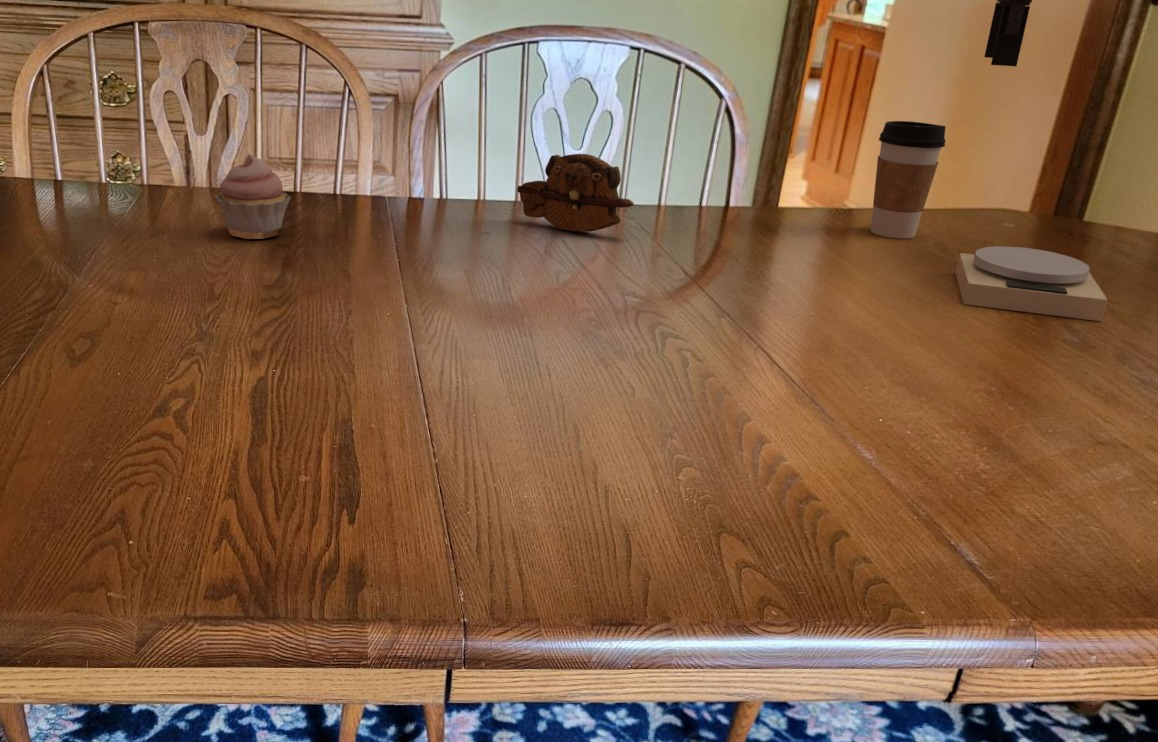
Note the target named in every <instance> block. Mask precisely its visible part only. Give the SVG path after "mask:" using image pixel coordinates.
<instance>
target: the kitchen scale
mask: <svg viewBox="0 0 1158 742" xmlns="http://www.w3.org/2000/svg"><path fill="white" fill-rule="evenodd" d="M1090 269H1091V268H1090V266H1089V265H1088V264H1087V263H1086V262H1084V261H1082V260H1080V259H1077V258H1075V257H1073V256H1068V255H1066V254H1063V253H1062V254H1061V253H1057V252H1055V251H1048V250H1043V249H1037V248H1031V247H1022V246H1020V247H1019V246H1005V245H1003V246H1002V245H1001V246H1000V245H999V246H987V247H986V246H985V247H981V248H978V249H977V250H975V252H974V254H971V253H963V252H960V253H959V255H958V258H957V263H956V267H955V270H954V271H955V272H954V273H955V277H956V282H957V285H958V289H959V292H960V296H961V300H962V304H963V305H965V306H972V307H980V308H981V307H982V308H990V309H996V310H997V309H998V310H1004V311H1005V310H1006V311H1013V312H1014V311H1015V312H1020V313H1021V312H1023V313H1028V314H1029V313H1030V314H1037V315H1046V316H1054V317H1062V318H1070V319H1079V320H1085V321H1094V322H1102V320H1103V318H1104V314H1105V311H1106V308H1107V304H1108V301H1109V299H1108V298H1107V296H1106V294H1105V293H1104V292H1103V290H1102V289H1101V287H1100V286H1099V284H1098V283H1097V282H1096V280H1095V279H1094V277H1093V276H1092V274H1091V272H1090Z"/></svg>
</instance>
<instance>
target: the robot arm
mask: <svg viewBox="0 0 1158 742" xmlns="http://www.w3.org/2000/svg"><path fill="white" fill-rule="evenodd" d="M1032 2H1033V0H996V2H995V4H994V5H995V6H994V10H993V15H992V19H991V23H990V29H989V33H988V38H987V42H986V46H985V47H986V48H985V51H984V58H987V59H988V58H989V59H990V58H991V62H990V65H991V66H1002V67H1018V62H1019V57H1020V53H1021V49H1022V44H1023V39H1024V36H1025V30H1026V26H1027V22H1028V18H1029V13H1030V8H1031V6H1030V5H1031V3H1032Z"/></svg>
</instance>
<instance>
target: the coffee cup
mask: <svg viewBox="0 0 1158 742" xmlns="http://www.w3.org/2000/svg"><path fill="white" fill-rule="evenodd" d="M946 128H947V127H946V125H940V124H933V123H928V122H927V123H926V122H919V121H906V120H891V121H886V122H885V123H884V126H883V128H882V132H880V134H879V138H878V141H879V142H880V148H879V149H880V150H879V155H878V156H877V163H876V171H875V173H876V174H875V182H874V192H873V203H872V205H873V207H872V214H871V221H870V232H871V234H874V235H876V236H879V237H883V238H889V239H899V240H901V239H903V240H905V239H912V238H913V239H914V238H915V236H916V234H917V232H918V227H919V224H920V221H921V218H922V213H923V211H924V209H925V207H926V206H925V205H926V202H927V200H928V196H929V194H930V190H931V187H932V184H933V181H934V177H935V174H936V171H937V168H938V166H939V161H938V160H939V157H940V153H941V150H942V148H944V147H946V139H945V134H946Z"/></svg>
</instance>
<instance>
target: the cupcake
mask: <svg viewBox="0 0 1158 742" xmlns="http://www.w3.org/2000/svg"><path fill="white" fill-rule="evenodd" d="M283 190H284V186H283V182H282V180H281V178H280V177H279V175H278V174H276V173H275V172H273V171H272V168H271V167H270V166H269V164H268V163H266V161H264V160H263V159H261V158H259V157H257V156H254V155H253V154H251V153H249V154H248V155H247V156H246V157H245V159H244V162H243V163H242V164H239V165H235V166H233V167H232V168H231V169H230V170H229V171H228V173H227V175H226V176H225V178H224V179H223V180H221V182H220V184H219V191H220V194H216V195H214V198H215V200H216V202H217V203H218V205H219V207H220V208H221V210H222V213H223V216H224V220H225V223H226V226H227V227H226V228H228V227H229V228H231V229H233V230H237V231H241V232H251V233H259V232H261V233H262V232H270V231H274V230H277V229H279V228H281V229H282V225H283V221H284V217H285V213H286V210H287V208H288V205H289V202H290V200H291V196H290V195H288V193H287V192H283Z"/></svg>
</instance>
